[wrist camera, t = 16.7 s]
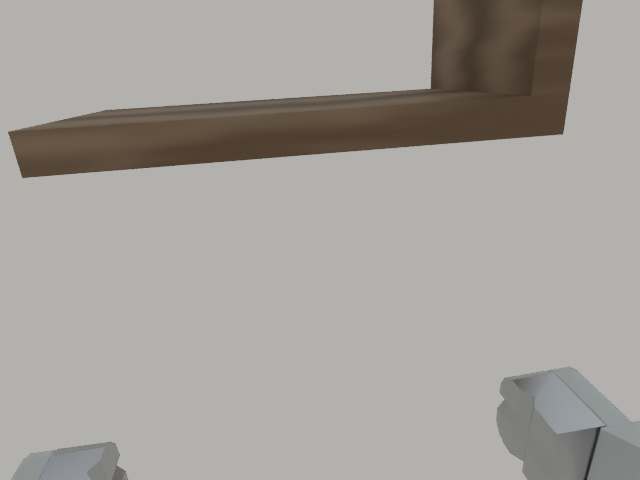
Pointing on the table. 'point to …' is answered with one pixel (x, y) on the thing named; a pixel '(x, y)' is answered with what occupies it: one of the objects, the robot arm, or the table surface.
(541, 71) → the walnut stand
